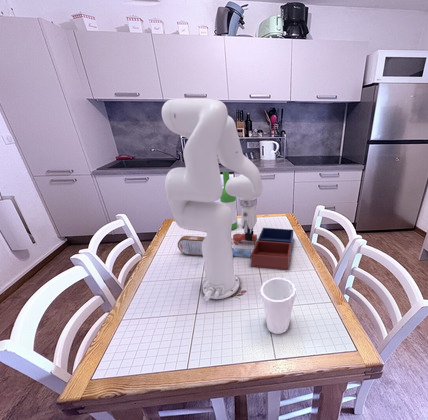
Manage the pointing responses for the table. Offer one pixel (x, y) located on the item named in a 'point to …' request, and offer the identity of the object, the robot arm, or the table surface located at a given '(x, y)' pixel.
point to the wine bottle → (229, 200)
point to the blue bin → (276, 235)
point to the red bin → (271, 255)
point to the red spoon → (243, 237)
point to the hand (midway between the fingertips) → (249, 239)
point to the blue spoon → (241, 252)
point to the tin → (191, 245)
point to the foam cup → (278, 303)
